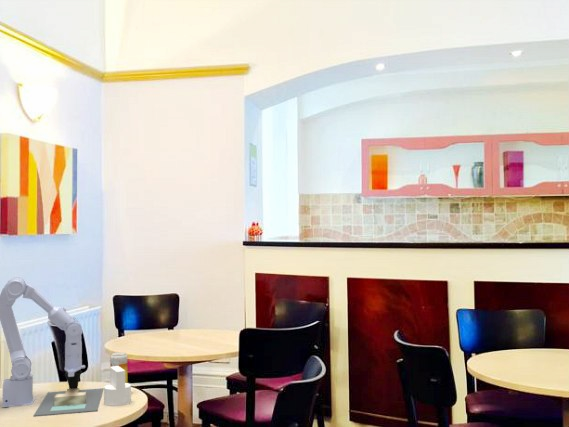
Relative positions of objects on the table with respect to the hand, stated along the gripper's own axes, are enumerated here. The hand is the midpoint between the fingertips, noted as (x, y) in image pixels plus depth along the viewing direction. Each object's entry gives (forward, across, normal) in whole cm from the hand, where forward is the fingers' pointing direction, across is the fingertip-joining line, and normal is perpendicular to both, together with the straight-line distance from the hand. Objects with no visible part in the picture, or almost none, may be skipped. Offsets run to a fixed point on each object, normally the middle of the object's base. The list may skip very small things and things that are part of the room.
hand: (73, 392), depth 209 cm
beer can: (+2, -1, -16) cm, 16 cm away
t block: (+2, -6, 0) cm, 6 cm away
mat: (+2, -6, 0) cm, 6 cm away
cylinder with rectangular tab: (+2, -12, -16) cm, 20 cm away
